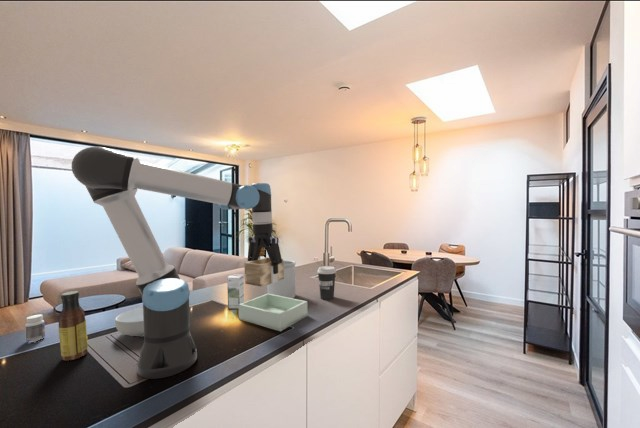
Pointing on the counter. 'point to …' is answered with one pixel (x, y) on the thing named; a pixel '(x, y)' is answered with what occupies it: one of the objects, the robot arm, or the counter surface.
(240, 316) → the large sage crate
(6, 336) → the counter surface
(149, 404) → the counter surface
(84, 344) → the sauce bottle
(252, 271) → the small wooden crate
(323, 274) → the coffee cup
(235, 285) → the syrup box
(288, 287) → the utensil holder
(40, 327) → the pill bottle
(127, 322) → the cereal bowl
